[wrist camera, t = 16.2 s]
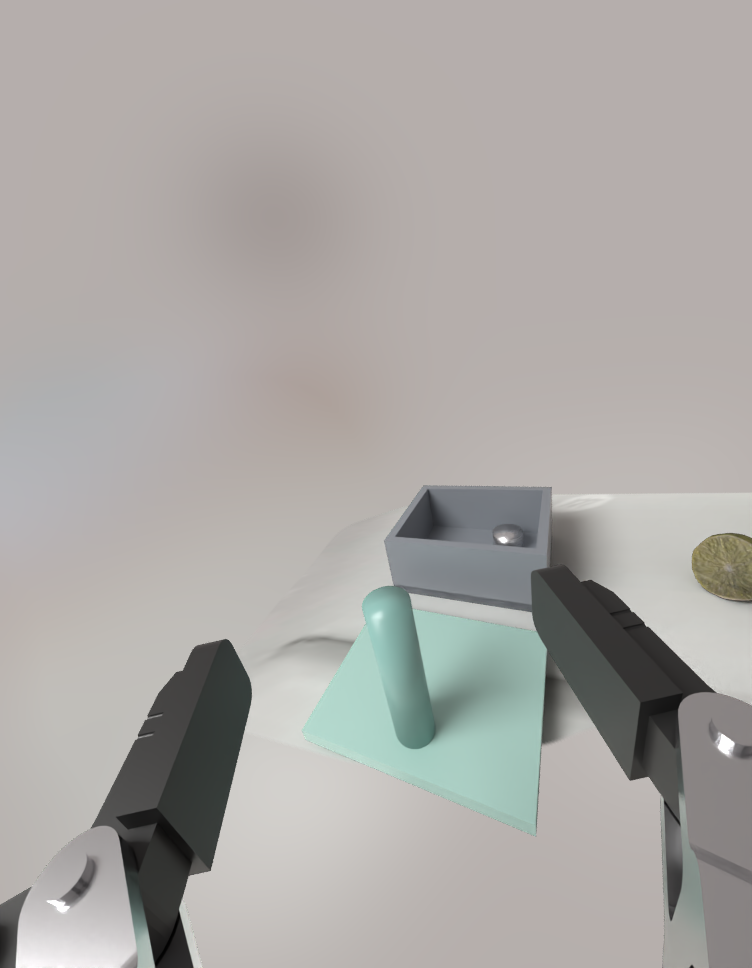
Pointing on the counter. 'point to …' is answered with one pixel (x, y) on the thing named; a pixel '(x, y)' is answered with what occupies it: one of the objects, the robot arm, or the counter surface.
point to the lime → (725, 566)
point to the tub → (471, 544)
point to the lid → (441, 706)
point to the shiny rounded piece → (508, 535)
